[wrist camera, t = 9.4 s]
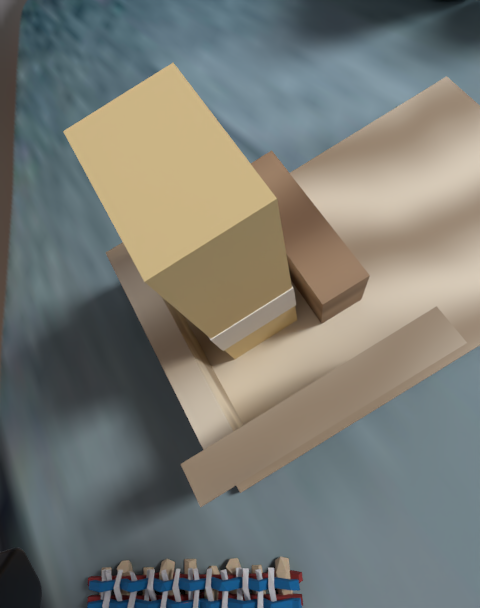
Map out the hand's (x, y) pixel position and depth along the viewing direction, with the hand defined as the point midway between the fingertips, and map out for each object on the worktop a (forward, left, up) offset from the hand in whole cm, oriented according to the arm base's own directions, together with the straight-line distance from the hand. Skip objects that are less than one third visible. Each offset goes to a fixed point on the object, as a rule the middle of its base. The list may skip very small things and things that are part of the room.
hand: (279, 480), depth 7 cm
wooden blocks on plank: (+7, -8, -14) cm, 17 cm away
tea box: (+9, -1, -13) cm, 16 cm away
